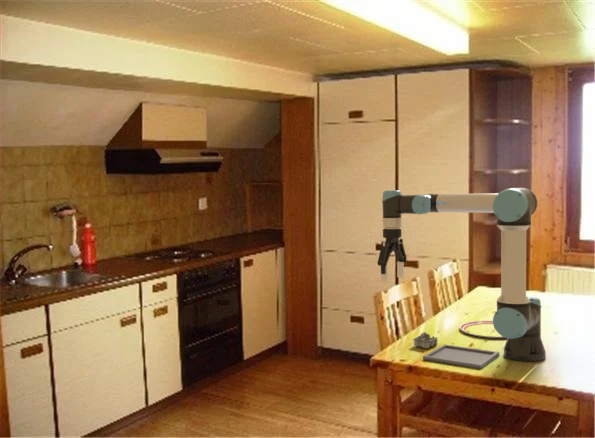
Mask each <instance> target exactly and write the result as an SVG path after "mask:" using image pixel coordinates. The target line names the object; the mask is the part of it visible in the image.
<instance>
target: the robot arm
mask: <svg viewBox="0 0 595 438" xmlns="http://www.w3.org/2000/svg"><path fill="white" fill-rule="evenodd" d="M381 203H382V220H381V221H382V228H383V229H382V238H384V239H385V240H382V241H381V243H380V244H381V245H380V250H379V255H378V260H377V263H376V264H377V265H378V266H380V282H381V283H388V282H389V278H388V277H389V275H388V274H389V272H388V271H389V267H388V263H389V259H390V256H391V254H392V253H393V252H394V253H393V254H394V255H395V257H396V259H397V261H396V268H397V269H396V274H397V275H396V278H402V279H404V278H405V263H406V262H407V259H408V258H407V254H406V250H405V247H404V240H403V238H402V229H401V228H402V215H404V214H407V215H425V214H429V213H464V214H465V213H467V214H468V213H473V214H474V213H475V214H477V213H481V214H482V213H483V214H487V213H488V214H489V213H490V214H494V216H495V217H496V226H497V227H498V228H499V230H500V231H501V233H500V237H501V240H500V251H501V252H500V255H501V256H500V258H501V259H500V262H501V265H500V266H501V268H500V275H501V276H500V277H501V279H500V283H501V284H500V289H501V290H500V295H499V296H498V297H497V298H496V311H495V312H494V313H493V314H494V315H493V317H492V321H493V324H492V325H493V328H494V329H495V331H496V332H497V333H498V334H499V336H500V337H501V336H503V337H505V338H504V339H506V342H505V345H504V348H503V356H504V357H506V358H508V359H509V360H515V361H520V362H539V361H543V360H545V359H546V357H547V356H546V353H547V352H546V349H545V346H544V343H543V339H542V334H541V333H542V328H541V326H542V325H541V324H542V322H541V321H542V320H541V319H542V305H541V304H542V303H541V300H540V299H539V297H538V298H537V297H532V296H527V231H528V229H529V228H530V227H531V225H532V216H533V215H534V214H535V212H536V210H537V208H538V198H537V196H536V194H535V193H534V192H533V191H532V190H531V189H529V188H526V187H511V188H506V189H504V190H502V191H500V192H495V193H493V192H491V193H490V192H489V193H435V194H434V193H427V194H402V191H401V190H399V189H398V190H393V189H392V190H383V192H382V201H381Z"/></svg>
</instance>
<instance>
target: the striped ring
mask: <svg viewBox="0 0 595 438" xmlns="http://www.w3.org/2000/svg"><path fill="white" fill-rule="evenodd" d="M475 325H476V326H477V325H493V320H472V321H468V322H464V323H461V324H460V325H459V329H460V330H461V331H462V332H464V333H466V334H468V335H471V336H473V337H477V336H478V337H477V338H483V337H484V339H485V338H486V339H506V338H505V337H503V336H501V335H500V336H496V335H495V336H493V335H491V336H490V335H482V334H476V333H471V332H468V331H467V328H469V327H472V326H475ZM466 331H467V332H466Z"/></svg>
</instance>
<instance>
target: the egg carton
mask: <svg viewBox="0 0 595 438" xmlns="http://www.w3.org/2000/svg"><path fill="white" fill-rule="evenodd" d="M426 332H427V331H425V332H421V333H420V335H418V336H417V337H415V338H413V339H412V341H413V346H414V347H419V348H420V347H421V348H424V349H430V347H434V346H437V345H438V337H437V336H432V337H431V335H430V334H429V333H426Z"/></svg>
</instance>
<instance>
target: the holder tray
mask: <svg viewBox="0 0 595 438" xmlns="http://www.w3.org/2000/svg"><path fill="white" fill-rule="evenodd" d="M498 357H500V351H494V350H487V349H481V348H472V347H466V346H460V345H459V346H458V345H451V344H442V345H441V346H439V347H437V348H435V349H433V350H431V351H430V352H428V353H426V354H425V355H422V358H423V359H422V360H423V361H427V362H433V363H438V364H446V365H452V366H457V367H458V366H459V367H465V368H469V369H470V368H471V369H477V370H482V369H484V368H485V367H486V366H488V365H489V364H490V363H492V362H493V361H494V360H496V359H497V358H498Z"/></svg>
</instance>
